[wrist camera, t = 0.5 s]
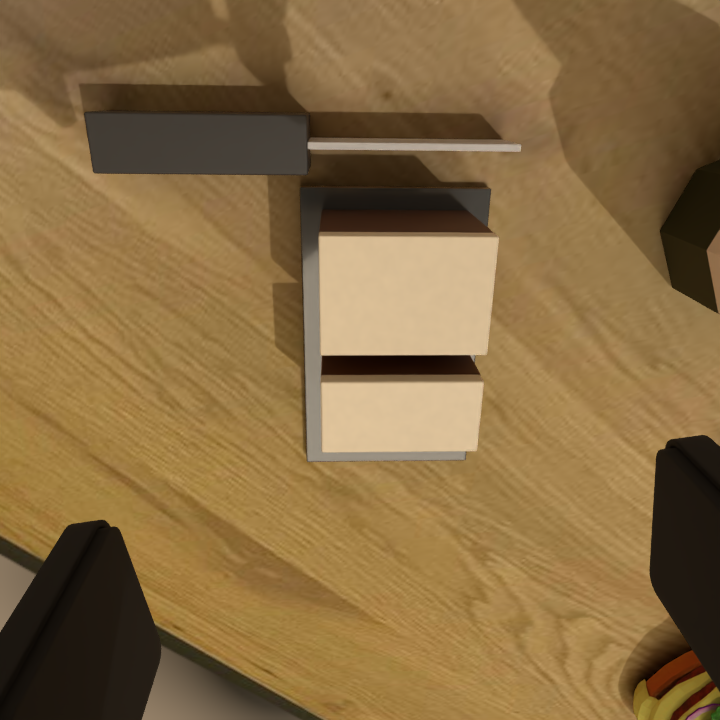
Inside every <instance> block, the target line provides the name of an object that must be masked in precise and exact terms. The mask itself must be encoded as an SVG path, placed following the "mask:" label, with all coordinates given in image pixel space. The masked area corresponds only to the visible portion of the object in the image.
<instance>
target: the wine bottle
mask: <svg viewBox="0 0 720 720" xmlns="http://www.w3.org/2000/svg"><path fill="white" fill-rule="evenodd" d="M660 233H661V237H662V242H663V246H664V251H665V256H666V260H667V265H668V270H669V274H670V279H671V283H672V288H674V289H676V290H677V291H679V292H681V293H683V294H684V295H686V296H688V297H690V298H692V299H693V300H695V301H697V302H699V303H700V304H702V305H704V306H706V307H707V308H709V309H711V310H713V311H714V312H716V313H718V314H720V160H718V161H716V162H713V163H711V164H709V165H706V166H704V167H701V168H699V169H697V170H696V172H695V173H694V175H693V177H692V178H691V180H690V182H689V183H688V185H687V187H686V188H685V190H684V192H683V193H682V195H681V197H680V198H679V200H678V202H677V203H676V205H675V207H674V209H673V210H672V212H671V214H670V215H669V217H668V219H667V220H666V222H665V224H664V225H663V227H662V229H661V230H660Z"/></svg>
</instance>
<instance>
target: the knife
mask: <svg viewBox="0 0 720 720" xmlns="http://www.w3.org/2000/svg"><path fill="white" fill-rule="evenodd" d="M84 115H85V122H86V128H87V135H88V141H89V148H90V154H91V161H92V167H93V172H94V173H103V174H217V175H308V172H309V169H310V166H311V160H310V149H318V150H414V151H510V152H520V151H521V144H518V143H514V142H510V141H506V140H494V139H404V138H314V137H311V138H310V115H309V113H279V112H201V111H122V110H107V111H91V112H85V113H84Z"/></svg>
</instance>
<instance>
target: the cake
mask: <svg viewBox="0 0 720 720" xmlns="http://www.w3.org/2000/svg"><path fill="white" fill-rule="evenodd" d="M318 240H319V310H320V355H487V350H488V340H489V331H490V321H491V311H492V301H493V292H494V282H495V272H496V262H497V253H498V243H499V237H498V236H497V235H496V234H495V233H493V232H492V231H491V230H490V229H489V228H488V227H486V226H485V225H484V224H483V223H482V222H481V221H479V220H478V219H477V218H476V217H475V216H474V215H472V214H471V213H470V212H469V211H467V210H327V209H323V210H322V212H321V221H320V229H319V237H318Z"/></svg>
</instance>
